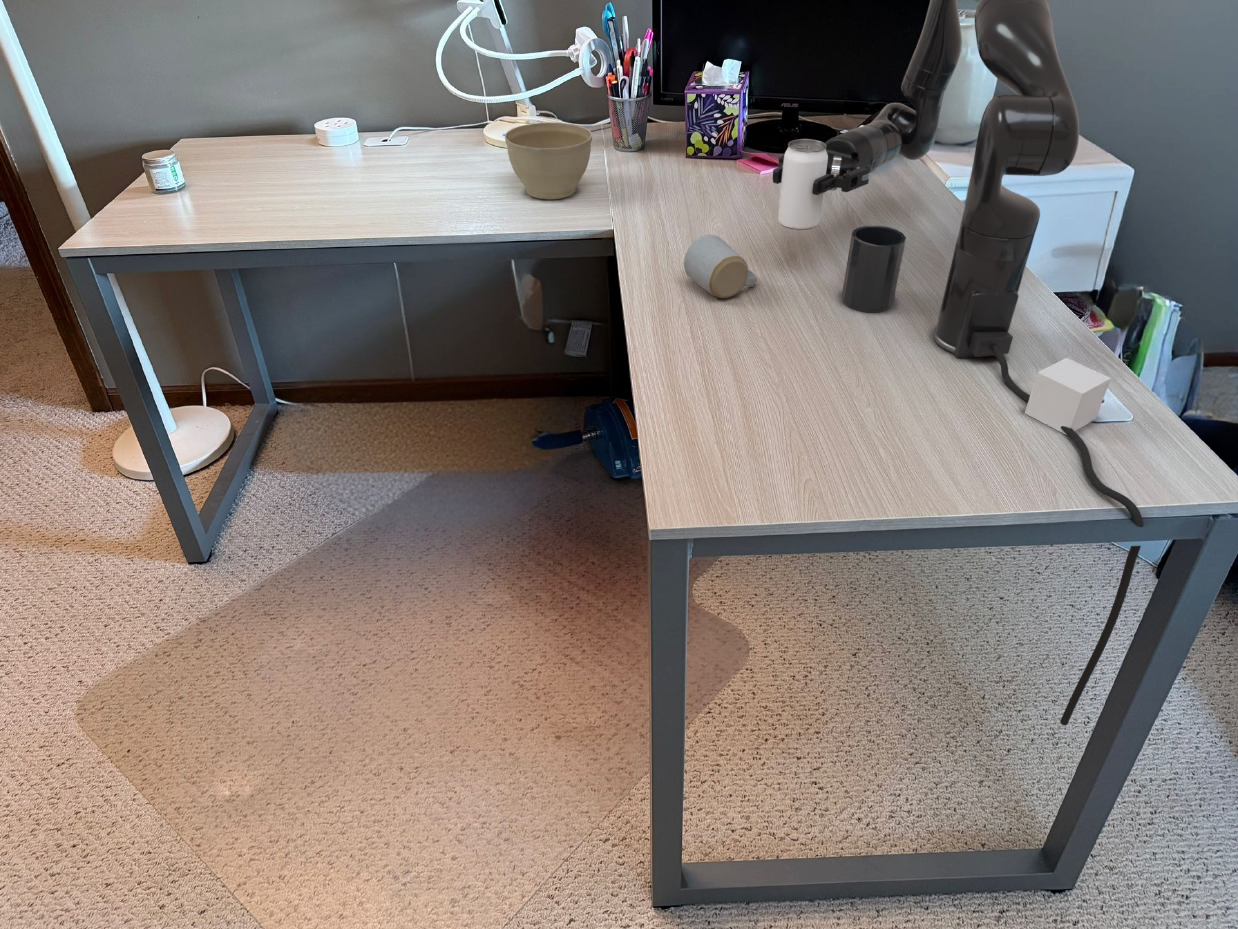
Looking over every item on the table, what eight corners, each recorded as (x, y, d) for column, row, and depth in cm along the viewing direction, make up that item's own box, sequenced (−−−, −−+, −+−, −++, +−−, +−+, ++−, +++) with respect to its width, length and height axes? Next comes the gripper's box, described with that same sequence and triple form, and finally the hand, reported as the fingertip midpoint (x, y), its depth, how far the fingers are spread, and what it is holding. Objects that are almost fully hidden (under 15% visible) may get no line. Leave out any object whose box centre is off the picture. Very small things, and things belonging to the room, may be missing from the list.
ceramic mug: (709, 305, 137) (713, 258, 133) (681, 284, 143) (684, 238, 138) (767, 291, 141) (772, 245, 137) (737, 271, 147) (742, 226, 142)
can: (818, 232, 138) (829, 153, 131) (776, 229, 140) (783, 150, 132) (820, 216, 144) (829, 139, 136) (778, 213, 145) (786, 137, 137)
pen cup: (898, 312, 136) (912, 245, 129) (848, 313, 135) (859, 246, 129) (884, 289, 142) (897, 225, 135) (836, 290, 142) (846, 225, 135)
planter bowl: (605, 200, 172) (604, 141, 165) (523, 212, 167) (519, 152, 160) (576, 172, 184) (575, 117, 177) (499, 183, 179) (494, 126, 172)
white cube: (1052, 398, 117) (1066, 357, 113) (1095, 419, 113) (1111, 378, 109) (1024, 413, 114) (1037, 372, 111) (1067, 435, 110) (1082, 393, 107)
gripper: (818, 122, 147) (757, 147, 138) (898, 140, 140) (839, 168, 130) (812, 168, 152) (753, 195, 142) (889, 188, 144) (832, 219, 134)
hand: (795, 182), depth 136 cm, fingers closed on can, 6 cm apart
